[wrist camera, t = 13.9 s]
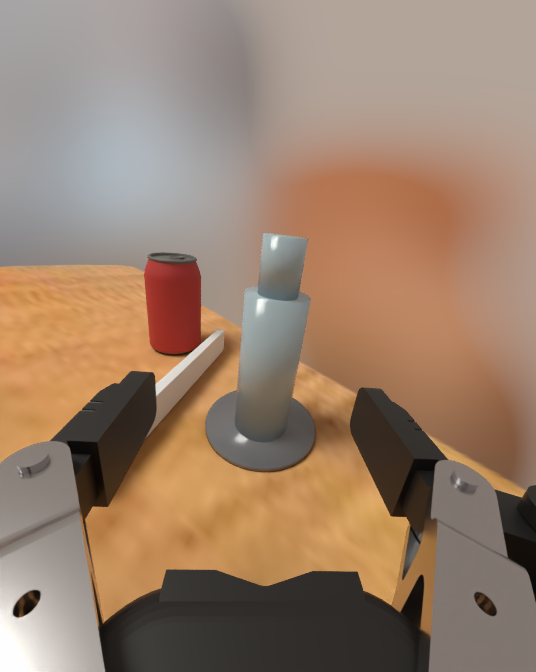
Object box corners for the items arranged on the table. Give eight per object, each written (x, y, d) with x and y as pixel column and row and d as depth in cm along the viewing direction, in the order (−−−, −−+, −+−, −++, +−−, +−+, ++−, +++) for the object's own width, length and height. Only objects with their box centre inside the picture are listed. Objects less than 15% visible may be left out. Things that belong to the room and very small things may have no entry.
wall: (92, 498, 16) (84, 465, 15) (79, 493, 17) (70, 460, 15) (223, 350, 36) (224, 330, 35) (216, 348, 36) (217, 329, 35)
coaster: (310, 487, 19) (310, 484, 19) (183, 451, 20) (183, 447, 20) (317, 403, 28) (318, 400, 28) (229, 382, 29) (229, 379, 29)
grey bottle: (281, 448, 21) (320, 242, 15) (226, 433, 22) (239, 232, 15) (290, 411, 26) (322, 239, 19) (243, 399, 26) (260, 231, 20)
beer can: (210, 343, 38) (211, 258, 33) (176, 362, 32) (173, 263, 27) (175, 331, 40) (172, 250, 35) (139, 346, 35) (129, 253, 30)
